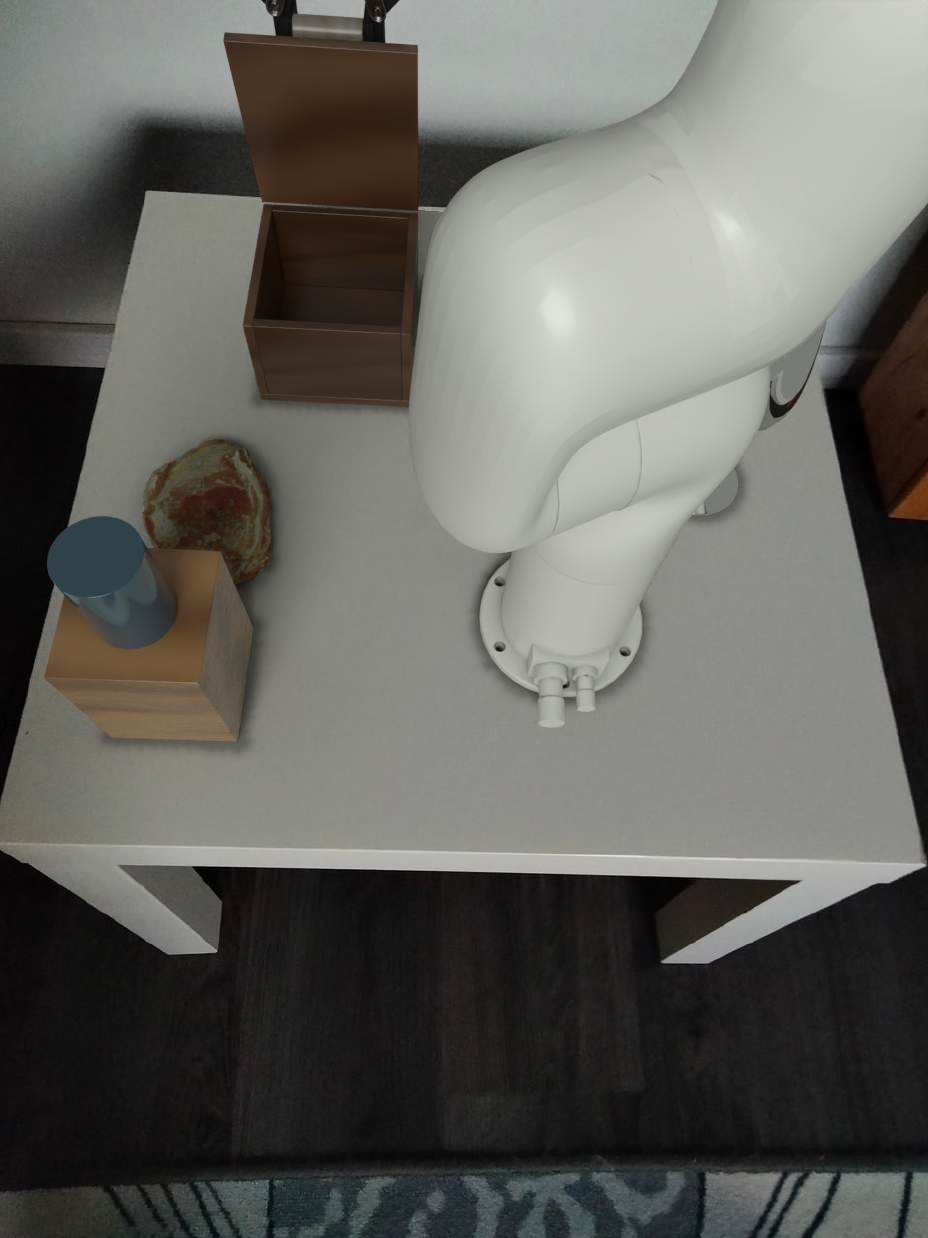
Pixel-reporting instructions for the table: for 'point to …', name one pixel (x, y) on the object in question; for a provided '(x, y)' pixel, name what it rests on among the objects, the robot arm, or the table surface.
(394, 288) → the wooden box
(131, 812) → the table surface
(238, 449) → the stone
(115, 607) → the blue glossy cylinder
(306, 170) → the lid
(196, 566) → the stand
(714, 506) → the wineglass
